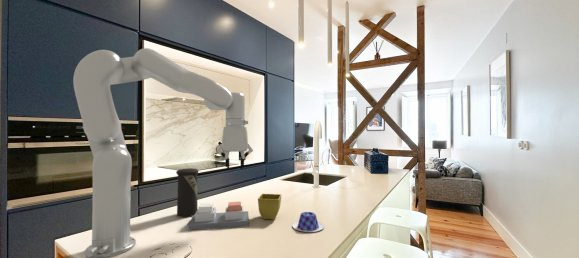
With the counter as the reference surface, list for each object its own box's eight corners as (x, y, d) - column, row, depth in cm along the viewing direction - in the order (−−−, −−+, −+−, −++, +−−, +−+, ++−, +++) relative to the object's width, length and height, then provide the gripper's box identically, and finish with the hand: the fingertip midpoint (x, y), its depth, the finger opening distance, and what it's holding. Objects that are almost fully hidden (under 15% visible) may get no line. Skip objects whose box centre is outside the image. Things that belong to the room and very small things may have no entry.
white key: (211, 214, 96) (212, 206, 96) (198, 215, 95) (198, 207, 95) (213, 210, 101) (213, 202, 101) (200, 211, 100) (200, 203, 100)
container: (193, 217, 104) (193, 170, 105) (172, 217, 105) (172, 169, 105) (201, 211, 113) (201, 167, 114) (181, 211, 113) (182, 167, 114)
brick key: (240, 212, 98) (241, 204, 98) (227, 213, 97) (228, 205, 97) (240, 208, 103) (241, 201, 103) (228, 209, 102) (228, 202, 102)
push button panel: (248, 226, 95) (249, 212, 95) (188, 230, 91) (188, 216, 91) (248, 215, 107) (248, 204, 107) (194, 219, 103) (194, 207, 103)
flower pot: (281, 214, 109) (281, 194, 109) (278, 221, 100) (278, 199, 100) (261, 214, 110) (261, 193, 110) (257, 221, 101) (257, 198, 101)
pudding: (323, 235, 88) (323, 220, 88) (290, 232, 90) (290, 218, 90) (324, 223, 100) (324, 209, 100) (294, 221, 102) (294, 208, 102)
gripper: (255, 124, 106) (255, 167, 106) (214, 123, 103) (214, 168, 103) (256, 123, 99) (256, 169, 98) (212, 123, 96) (212, 170, 95)
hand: (234, 168), depth 101 cm, fingers open, 4 cm apart
